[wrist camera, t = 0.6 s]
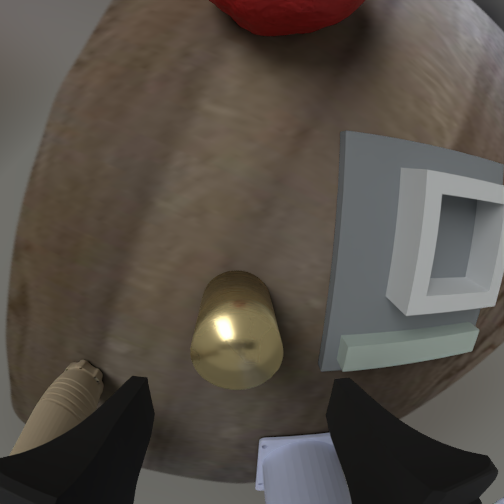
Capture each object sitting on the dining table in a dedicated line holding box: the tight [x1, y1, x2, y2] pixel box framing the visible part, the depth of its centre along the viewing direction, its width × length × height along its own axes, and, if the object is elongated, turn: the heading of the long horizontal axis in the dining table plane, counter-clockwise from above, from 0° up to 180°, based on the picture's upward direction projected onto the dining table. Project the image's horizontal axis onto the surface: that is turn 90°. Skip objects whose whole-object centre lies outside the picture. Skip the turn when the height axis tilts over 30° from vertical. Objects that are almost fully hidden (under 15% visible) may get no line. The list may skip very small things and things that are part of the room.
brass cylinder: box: [191, 271, 283, 390], centre depth 17 cm, size 4×4×6 cm
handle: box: [9, 360, 104, 456], centre depth 14 cm, size 5×6×15 cm
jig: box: [318, 131, 504, 372], centre depth 18 cm, size 16×14×4 cm
